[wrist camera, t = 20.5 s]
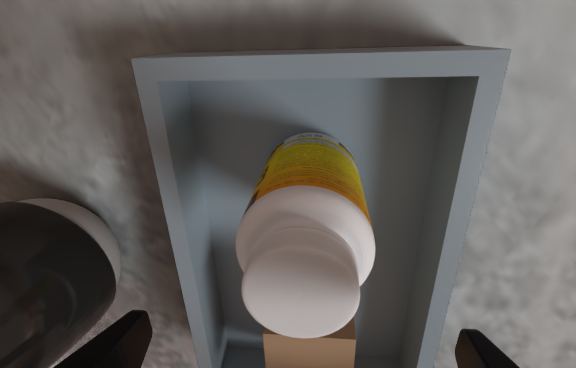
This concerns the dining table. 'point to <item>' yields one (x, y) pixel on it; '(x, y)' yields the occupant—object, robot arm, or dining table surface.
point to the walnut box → (311, 349)
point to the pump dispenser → (52, 279)
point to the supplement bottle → (306, 239)
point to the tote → (369, 159)
